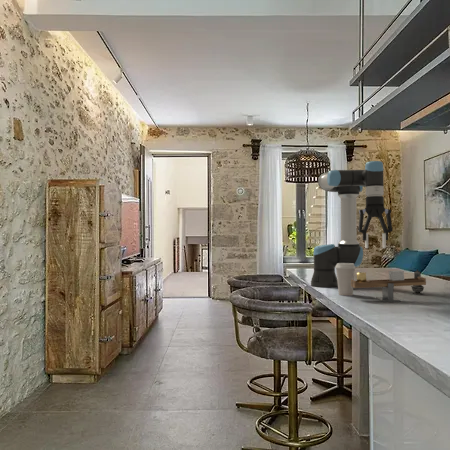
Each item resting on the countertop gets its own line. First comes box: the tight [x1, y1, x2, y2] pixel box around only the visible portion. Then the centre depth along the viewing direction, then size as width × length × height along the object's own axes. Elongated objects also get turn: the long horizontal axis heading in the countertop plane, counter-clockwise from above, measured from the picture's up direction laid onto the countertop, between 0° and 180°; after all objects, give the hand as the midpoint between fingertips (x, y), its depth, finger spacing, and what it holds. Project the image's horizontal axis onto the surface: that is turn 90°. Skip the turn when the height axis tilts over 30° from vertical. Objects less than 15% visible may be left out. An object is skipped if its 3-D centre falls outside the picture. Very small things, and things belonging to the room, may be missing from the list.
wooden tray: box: [351, 276, 427, 289], centre depth 180 cm, size 7×30×3 cm, turn 85°
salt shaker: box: [410, 269, 425, 296], centre depth 199 cm, size 6×6×12 cm
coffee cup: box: [335, 263, 357, 297], centre depth 198 cm, size 10×10×15 cm
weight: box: [356, 271, 367, 283], centre depth 182 cm, size 4×4×5 cm
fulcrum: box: [375, 283, 401, 303], centre depth 180 cm, size 9×8×8 cm
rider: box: [388, 269, 405, 281], centre depth 180 cm, size 5×5×5 cm
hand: (375, 247), depth 181 cm, fingers open, 7 cm apart
